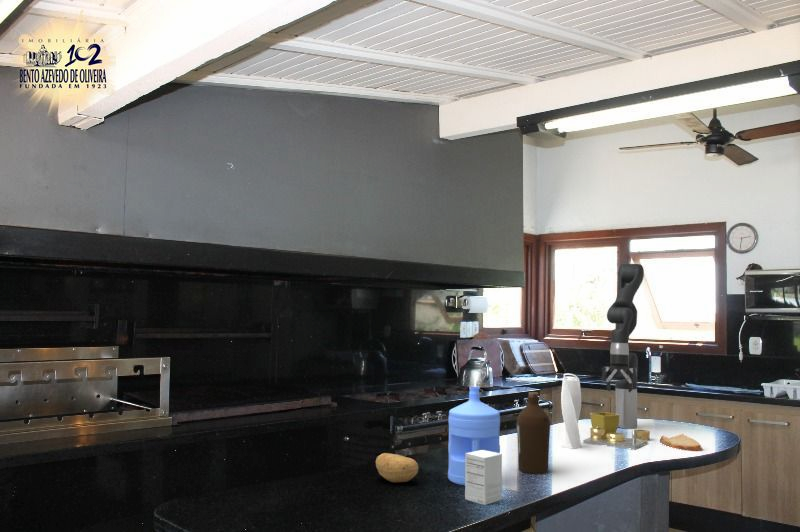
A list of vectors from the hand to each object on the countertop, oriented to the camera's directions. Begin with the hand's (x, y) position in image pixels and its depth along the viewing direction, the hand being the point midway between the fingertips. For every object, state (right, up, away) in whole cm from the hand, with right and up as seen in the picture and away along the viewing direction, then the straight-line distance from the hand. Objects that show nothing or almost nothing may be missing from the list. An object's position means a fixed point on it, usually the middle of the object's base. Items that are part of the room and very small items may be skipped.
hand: (619, 391), depth 301 cm
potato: (-95, -11, -92) cm, 132 cm away
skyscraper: (-29, -15, -35) cm, 48 cm away
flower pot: (-9, -17, -9) cm, 21 cm away
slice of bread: (+15, -17, -28) cm, 36 cm away
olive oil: (-51, -12, -74) cm, 91 cm away
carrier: (-10, -16, -26) cm, 32 cm away
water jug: (-72, -11, -89) cm, 115 cm away
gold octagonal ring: (+4, -16, -17) cm, 24 cm away
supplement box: (-72, -10, -110) cm, 132 cm away
